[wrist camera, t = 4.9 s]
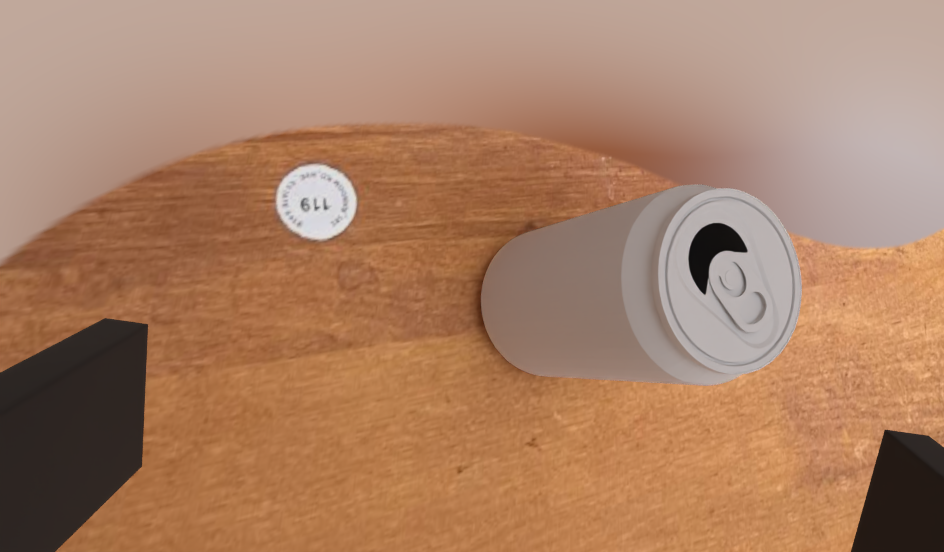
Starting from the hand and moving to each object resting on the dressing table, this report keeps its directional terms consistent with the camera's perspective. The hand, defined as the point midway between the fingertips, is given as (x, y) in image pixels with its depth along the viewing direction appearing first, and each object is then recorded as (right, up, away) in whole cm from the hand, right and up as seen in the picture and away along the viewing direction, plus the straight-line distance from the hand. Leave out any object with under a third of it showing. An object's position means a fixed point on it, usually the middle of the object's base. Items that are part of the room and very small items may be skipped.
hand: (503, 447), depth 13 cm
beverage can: (+2, +2, +20) cm, 20 cm away
